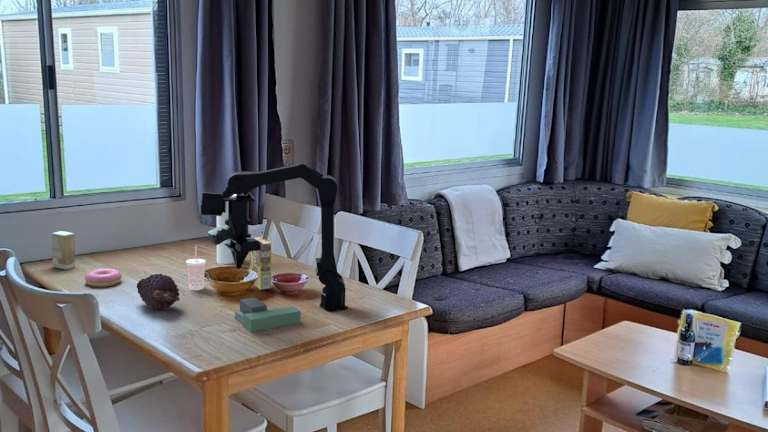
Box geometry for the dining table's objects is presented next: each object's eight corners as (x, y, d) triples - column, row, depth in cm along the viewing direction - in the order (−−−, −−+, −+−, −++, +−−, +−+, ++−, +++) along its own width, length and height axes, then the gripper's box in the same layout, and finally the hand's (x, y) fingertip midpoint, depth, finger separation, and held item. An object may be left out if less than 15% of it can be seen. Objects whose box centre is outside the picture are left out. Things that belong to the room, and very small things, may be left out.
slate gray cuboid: (254, 313, 195) (254, 297, 194) (266, 322, 188) (266, 305, 188) (239, 316, 192) (239, 299, 191) (251, 325, 186) (251, 307, 185)
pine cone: (125, 304, 198) (124, 271, 196) (155, 297, 205) (154, 265, 203) (162, 318, 187) (161, 284, 185) (191, 310, 195) (191, 277, 193)
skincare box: (52, 267, 231) (50, 232, 229) (62, 264, 235) (60, 230, 233) (66, 270, 229) (64, 235, 227) (76, 267, 233) (75, 232, 231)
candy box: (271, 288, 219) (272, 242, 216) (259, 290, 216) (259, 244, 213) (260, 281, 226) (261, 237, 223) (248, 283, 224) (249, 238, 221)
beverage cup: (209, 288, 216) (209, 246, 213) (193, 292, 212) (192, 248, 209) (199, 284, 220) (199, 242, 217) (182, 287, 216) (182, 245, 213)
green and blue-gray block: (281, 310, 198) (281, 298, 198) (300, 322, 189) (300, 310, 188) (233, 318, 190) (233, 306, 189) (250, 332, 180) (250, 319, 180)
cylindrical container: (240, 261, 250) (240, 194, 245) (226, 265, 244) (226, 197, 239) (226, 258, 253) (226, 192, 249) (212, 261, 247) (212, 194, 243)
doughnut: (77, 284, 215) (76, 271, 214) (105, 276, 224) (105, 264, 224) (101, 290, 210) (100, 277, 209) (129, 282, 219) (128, 269, 219)
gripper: (199, 212, 196) (200, 264, 199) (224, 224, 182) (224, 280, 185) (235, 209, 203) (235, 259, 206) (262, 221, 188) (261, 275, 191)
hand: (238, 268), depth 197 cm, fingers closed
